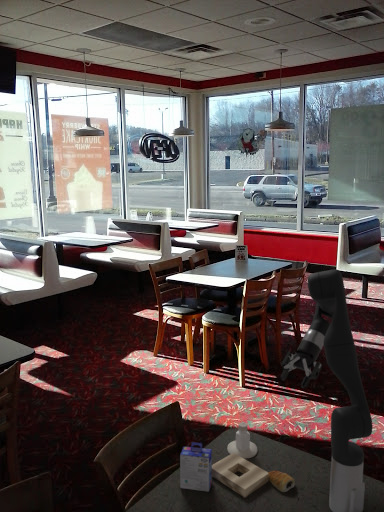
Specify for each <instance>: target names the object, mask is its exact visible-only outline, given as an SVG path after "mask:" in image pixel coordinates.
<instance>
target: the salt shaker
mask: <svg viewBox="0 0 384 512" xmlns="http://www.w3.org/2000/svg"><path fill="white" fill-rule="evenodd" d="M235 440H236V448H238V449H239V450H241V451H245V450H247V449H249V447H250V442H251V434H250V432H249V431H248V423H247V422H244V421H243V422H239V423H238V430H237V431H236V432H235Z"/></svg>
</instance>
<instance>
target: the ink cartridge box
mask: <svg viewBox="0 0 384 512" xmlns="http://www.w3.org/2000/svg"><path fill="white" fill-rule="evenodd" d="M194 446H199V447H194ZM212 452H213V449H211V448H203V443H202V442H194V441H191V446H183V447H182V450H181V452H180V456H179V461H180V462H179V465H180V466H179V469H180V471H179V472H180V473H179V475H180V477H179V478H180V480H179V481H180V484H179V487H180V489H185V490H186V489H187V490H192V491H193V490H194V491H201V492H202V491H203V492H210V490H211V488H212V487H211V486H212V484H213V477H212V465H213V457H212V456H213V453H212Z"/></svg>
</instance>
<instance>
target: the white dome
mask: <svg viewBox="0 0 384 512" xmlns="http://www.w3.org/2000/svg"><path fill="white" fill-rule="evenodd" d="M226 447H227V452H228V455H230V454H232V453H235V454H237V455H239V456H240V457H242V458H244V459H245V460H248V459H252V458H253V457H256V455H257V453H258V447H257V445H256V444H255V443H254V442H252V441H250V447H249V449H247V450H245V451H241V450H239V449H238V448H236V439H234V440H233V441H231V442H229V443H228V444H227V446H226Z"/></svg>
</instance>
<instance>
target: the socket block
mask: <svg viewBox="0 0 384 512" xmlns="http://www.w3.org/2000/svg"><path fill="white" fill-rule="evenodd" d="M237 472H240V473H241V475H240V476H238V475H237V474H235V473H237ZM268 472H269V471H266V470H264V469H263V468H261V467H259V466H257V465H255V464H254V463H253V462H251V461H249V460H248V459H244V458H242V457H240V456H239V455H237V454H235V453H232V454H228V455H227V456H225V457H224V458H221V459H220V460H219V461H217V462H215V463H212V478H214V479H215V480H217V481H218V482H221V483H222V484H223V485H225V486H226V487H228V488H230V489H231V490H233V491H234V492H236V493H237V494H238V495H240V496H242V497H243V498H246V497H248V496H249V495H251V494H252V493H253V492H255V491H256V490H258V489H260V488H261V487H263V486H264V485H265V484H267V483H268V482H270V480H269V473H268Z"/></svg>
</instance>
